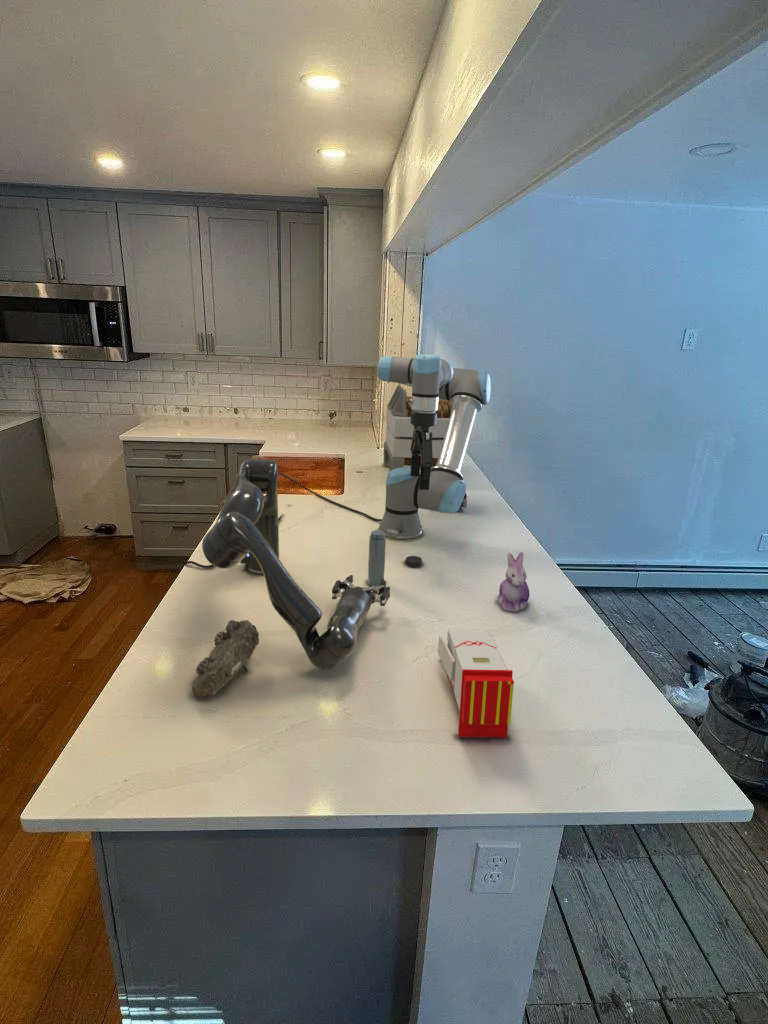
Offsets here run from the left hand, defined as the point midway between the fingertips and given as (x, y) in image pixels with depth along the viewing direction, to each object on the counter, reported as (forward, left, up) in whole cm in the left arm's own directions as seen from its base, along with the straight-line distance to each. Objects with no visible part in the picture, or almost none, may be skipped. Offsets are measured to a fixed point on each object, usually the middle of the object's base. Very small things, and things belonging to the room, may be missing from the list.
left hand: (367, 580), depth 151 cm
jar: (0, +12, -7) cm, 14 cm away
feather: (-45, +53, -7) cm, 70 cm away
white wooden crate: (-4, +131, -7) cm, 132 cm away
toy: (+29, -31, -7) cm, 44 cm away
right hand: (+9, +28, +20) cm, 36 cm away
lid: (+8, +28, -5) cm, 30 cm away
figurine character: (+17, +86, -7) cm, 88 cm away
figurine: (+39, +10, -7) cm, 41 cm away
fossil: (-21, -37, -7) cm, 43 cm away
